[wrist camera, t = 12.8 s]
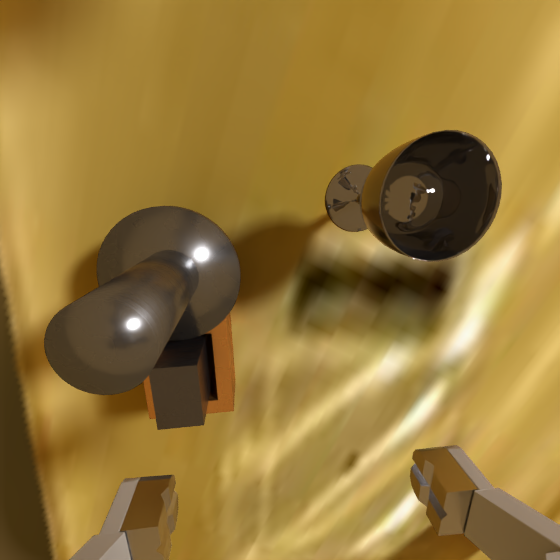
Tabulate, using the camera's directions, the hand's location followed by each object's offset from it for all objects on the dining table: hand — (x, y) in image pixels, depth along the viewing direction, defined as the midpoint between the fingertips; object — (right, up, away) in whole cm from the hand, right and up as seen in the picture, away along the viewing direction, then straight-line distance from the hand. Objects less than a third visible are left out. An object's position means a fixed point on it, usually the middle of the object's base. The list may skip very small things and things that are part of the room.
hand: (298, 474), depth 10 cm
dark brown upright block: (-11, -1, +25) cm, 27 cm away
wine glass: (+8, +16, +23) cm, 29 cm away
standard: (-11, +4, +24) cm, 27 cm away
